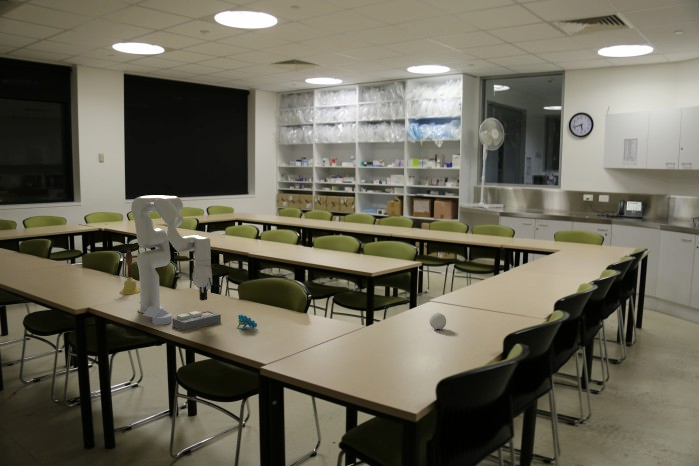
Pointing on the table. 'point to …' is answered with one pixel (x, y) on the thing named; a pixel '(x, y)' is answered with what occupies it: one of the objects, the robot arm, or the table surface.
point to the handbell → (129, 278)
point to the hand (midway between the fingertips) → (203, 299)
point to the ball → (437, 321)
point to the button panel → (197, 321)
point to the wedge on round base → (158, 316)
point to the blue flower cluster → (246, 322)
